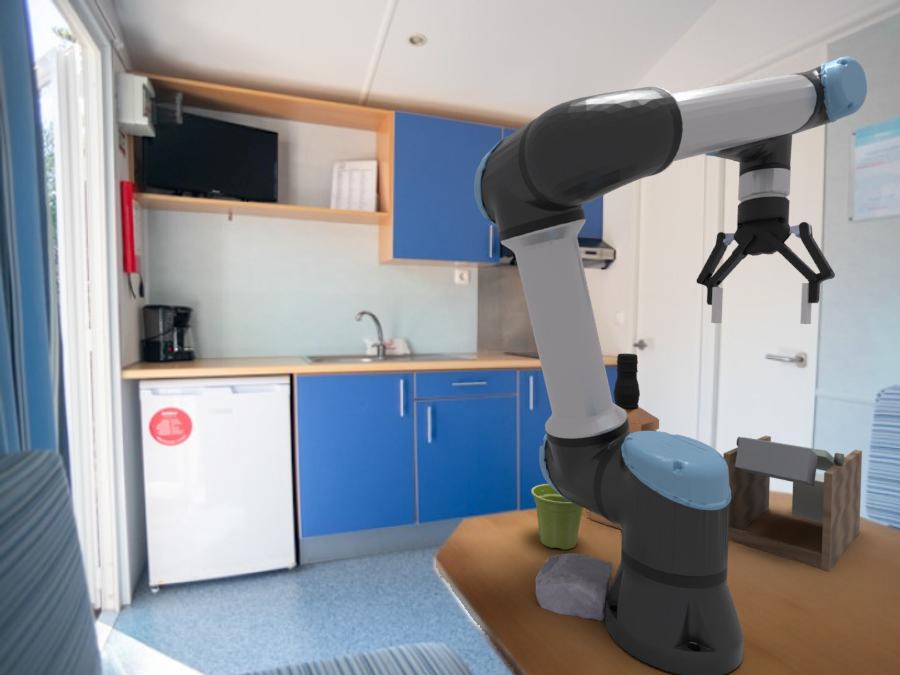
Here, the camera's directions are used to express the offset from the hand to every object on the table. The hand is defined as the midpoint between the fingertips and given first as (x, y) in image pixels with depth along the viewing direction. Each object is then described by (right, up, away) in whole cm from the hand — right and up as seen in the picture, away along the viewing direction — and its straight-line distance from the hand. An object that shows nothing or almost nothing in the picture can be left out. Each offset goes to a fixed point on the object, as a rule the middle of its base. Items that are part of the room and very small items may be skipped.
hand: (758, 323), depth 84 cm
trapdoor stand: (+8, -38, +3) cm, 39 cm away
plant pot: (-35, -38, -1) cm, 51 cm away
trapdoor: (+6, -28, +1) cm, 29 cm away
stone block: (-36, -39, -16) cm, 55 cm away
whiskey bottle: (-20, -38, +10) cm, 44 cm away
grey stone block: (+19, -30, +12) cm, 37 cm away
